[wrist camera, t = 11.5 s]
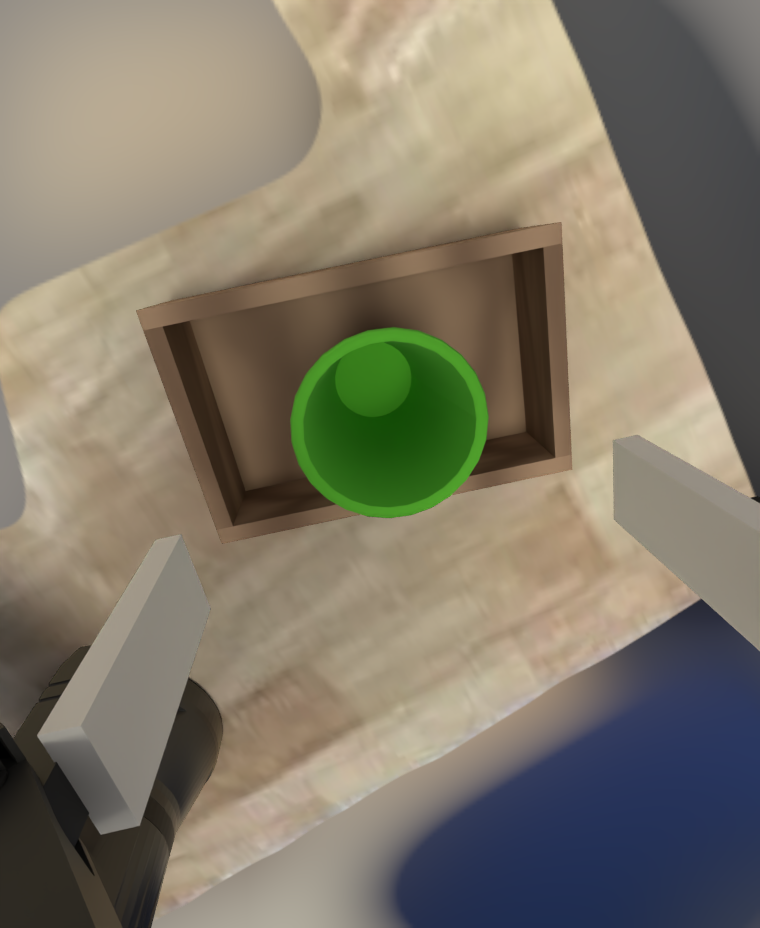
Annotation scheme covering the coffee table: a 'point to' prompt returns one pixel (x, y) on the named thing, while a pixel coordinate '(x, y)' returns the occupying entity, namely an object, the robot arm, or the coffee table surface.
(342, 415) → the cup
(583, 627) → the coffee table surface
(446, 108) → the coffee table surface
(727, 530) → the robot arm
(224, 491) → the tray
